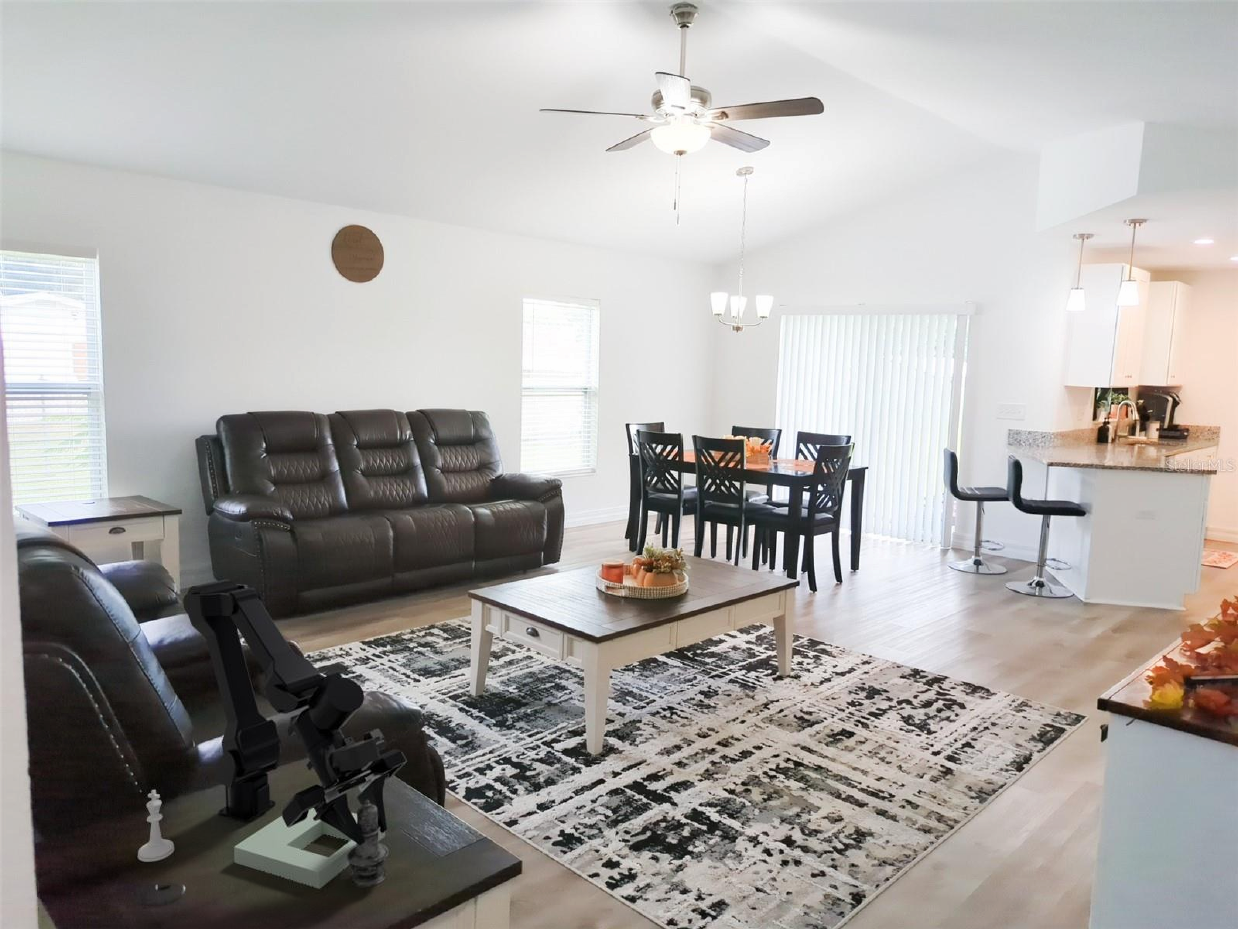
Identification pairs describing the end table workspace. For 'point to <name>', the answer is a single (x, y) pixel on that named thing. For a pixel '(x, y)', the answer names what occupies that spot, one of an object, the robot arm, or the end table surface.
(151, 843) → the chess piece
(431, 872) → the end table surface
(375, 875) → the grey stone chess bishop
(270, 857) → the socket board
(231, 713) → the robot arm
